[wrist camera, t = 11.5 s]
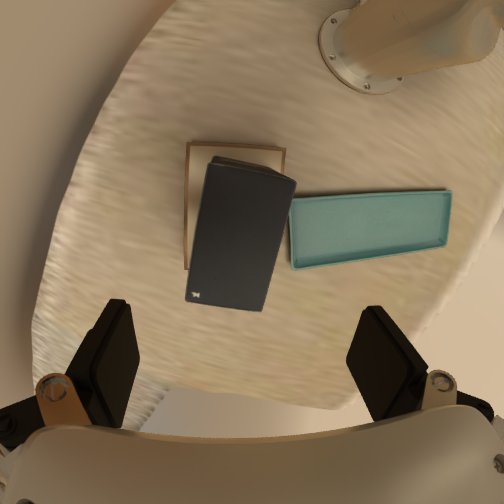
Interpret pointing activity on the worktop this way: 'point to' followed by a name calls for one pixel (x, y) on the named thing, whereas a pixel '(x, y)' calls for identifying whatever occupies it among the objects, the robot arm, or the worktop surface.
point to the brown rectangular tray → (196, 169)
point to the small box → (237, 234)
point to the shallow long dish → (366, 226)
